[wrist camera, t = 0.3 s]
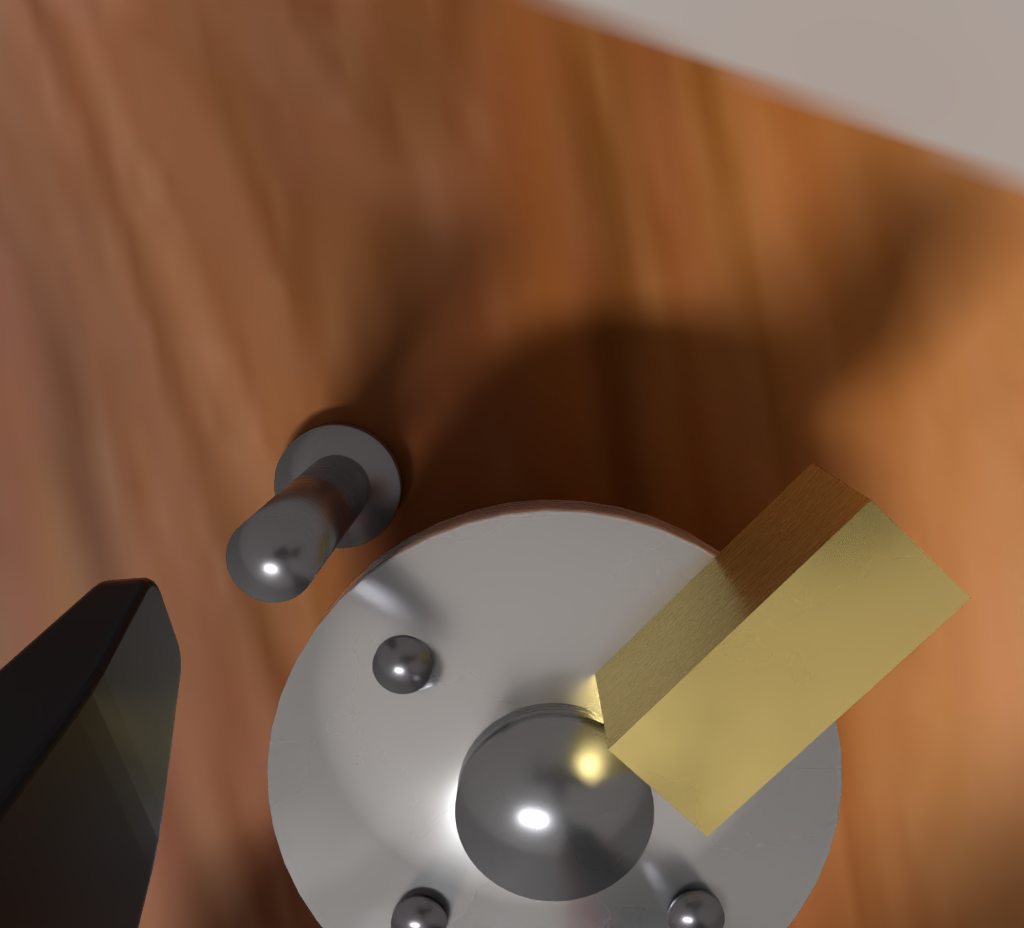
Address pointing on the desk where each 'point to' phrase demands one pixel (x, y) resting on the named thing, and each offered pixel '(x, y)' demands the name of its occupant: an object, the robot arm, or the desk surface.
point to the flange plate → (591, 715)
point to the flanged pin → (315, 510)
